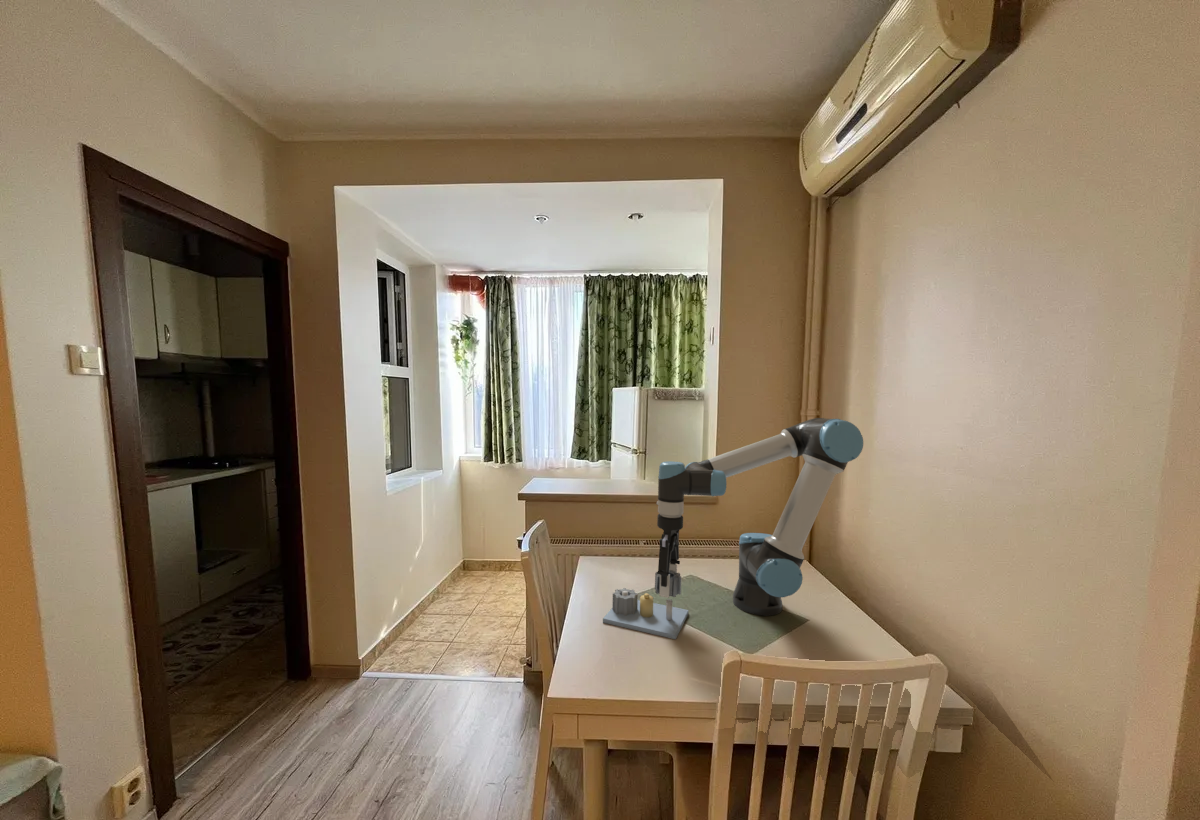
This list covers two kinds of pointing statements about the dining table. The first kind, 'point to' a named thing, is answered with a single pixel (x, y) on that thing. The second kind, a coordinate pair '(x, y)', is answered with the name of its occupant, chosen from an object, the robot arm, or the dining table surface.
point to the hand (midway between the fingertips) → (668, 590)
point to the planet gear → (674, 583)
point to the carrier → (645, 614)
